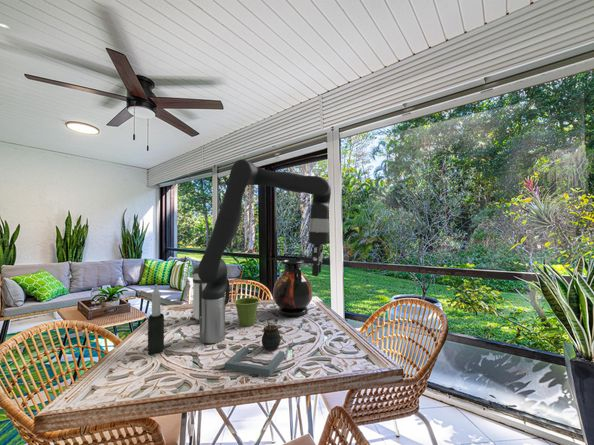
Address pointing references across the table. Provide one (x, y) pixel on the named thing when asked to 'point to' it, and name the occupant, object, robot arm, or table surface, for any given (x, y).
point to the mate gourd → (271, 337)
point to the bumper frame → (251, 368)
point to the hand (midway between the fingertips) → (316, 274)
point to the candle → (155, 326)
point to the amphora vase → (292, 290)
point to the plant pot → (246, 310)
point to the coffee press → (197, 294)
